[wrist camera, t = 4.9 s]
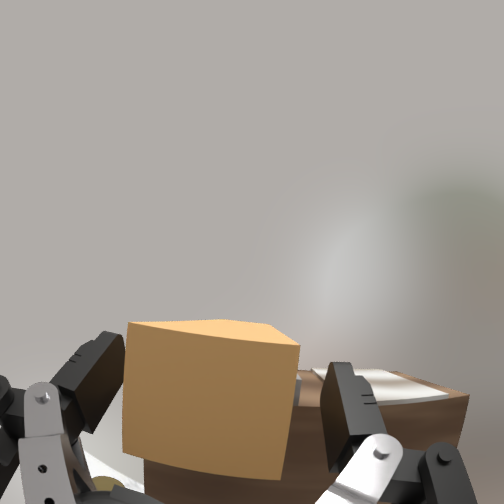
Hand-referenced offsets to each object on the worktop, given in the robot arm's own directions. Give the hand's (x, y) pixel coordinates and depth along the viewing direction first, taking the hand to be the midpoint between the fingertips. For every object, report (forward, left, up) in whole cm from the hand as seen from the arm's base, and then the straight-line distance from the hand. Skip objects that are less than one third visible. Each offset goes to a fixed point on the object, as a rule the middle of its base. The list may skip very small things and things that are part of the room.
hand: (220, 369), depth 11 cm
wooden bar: (-3, -7, -2) cm, 8 cm away
